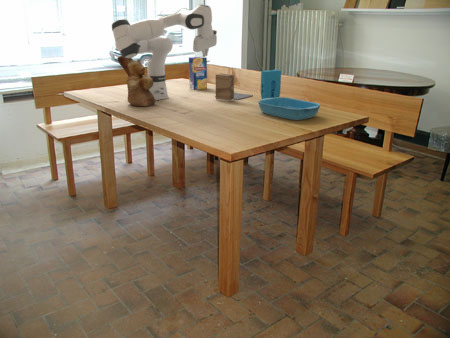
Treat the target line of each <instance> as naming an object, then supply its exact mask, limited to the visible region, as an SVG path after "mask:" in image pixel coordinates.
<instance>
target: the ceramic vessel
mask: <svg viewBox="0 0 450 338" xmlns="http://www.w3.org/2000/svg"><path fill="white" fill-rule="evenodd" d="M116 59H117V61H118V63H119V65H120V66H121V67H122V69H123V70H124V72H125V73H126V76H128V78H127V80H126V86H127V102H128V103H129V104H130V105H131V106H134V107H149V106H153V105H154V104H155V101H156V100H155V98H154V96H153V95H152V93H151V92H150V90H149V89H150V88H151V87H152V86H153V79H152V78H150V77H147V75H148V74H145V72H146V71H145V70H146V68H145V67H144V65H143V64H142V63H141V60H140V58H137V60H133V58H123V57H122V55H119V56H118V57H117V58H116Z"/></svg>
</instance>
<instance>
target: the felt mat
mask: <svg viewBox="0 0 450 338" xmlns="http://www.w3.org/2000/svg"><path fill="white" fill-rule="evenodd" d="M253 96H254V95H253V94H246V93H238V92H234V100H233V101H239V100H243V99H247V98H250V97H253ZM214 98H216V95H215V96H214Z"/></svg>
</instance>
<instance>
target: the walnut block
mask: <svg viewBox="0 0 450 338" xmlns="http://www.w3.org/2000/svg"><path fill="white" fill-rule="evenodd" d="M234 93H235V74H229V73H215V96H216V97H215V100H216V101H222V102H228V103H229V102H233V101H235V100H234Z"/></svg>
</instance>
